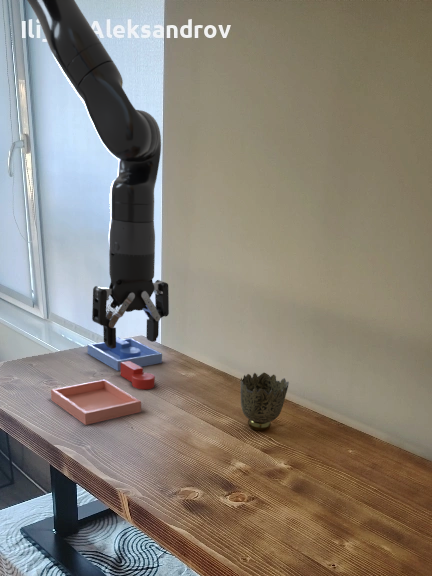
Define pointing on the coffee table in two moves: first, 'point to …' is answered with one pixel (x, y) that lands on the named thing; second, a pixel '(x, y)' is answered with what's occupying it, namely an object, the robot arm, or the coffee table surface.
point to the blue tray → (113, 360)
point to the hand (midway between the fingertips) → (131, 343)
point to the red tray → (95, 401)
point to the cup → (262, 399)
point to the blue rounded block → (125, 349)
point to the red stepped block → (137, 375)
